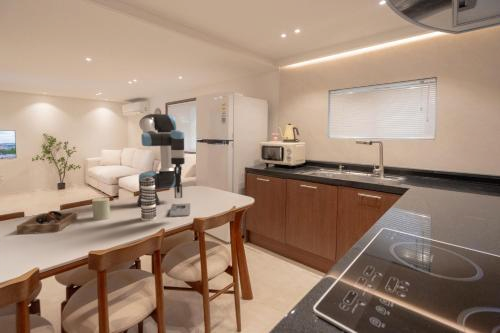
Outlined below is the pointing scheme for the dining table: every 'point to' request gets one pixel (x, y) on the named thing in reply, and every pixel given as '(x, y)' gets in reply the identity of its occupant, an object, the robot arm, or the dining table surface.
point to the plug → (175, 190)
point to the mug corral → (33, 226)
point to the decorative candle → (148, 199)
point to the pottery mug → (49, 217)
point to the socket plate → (180, 210)
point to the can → (101, 208)
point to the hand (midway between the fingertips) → (178, 196)
